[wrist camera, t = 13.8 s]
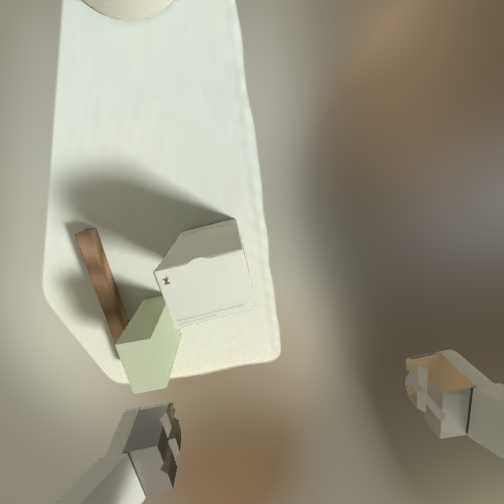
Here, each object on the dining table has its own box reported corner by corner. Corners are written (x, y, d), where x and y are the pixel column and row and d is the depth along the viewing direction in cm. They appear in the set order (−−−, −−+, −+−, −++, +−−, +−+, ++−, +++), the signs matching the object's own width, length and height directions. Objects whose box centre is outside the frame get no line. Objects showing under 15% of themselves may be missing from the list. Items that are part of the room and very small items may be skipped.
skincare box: (192, 271, 41) (170, 334, 26) (178, 228, 39) (147, 270, 24) (248, 258, 41) (258, 313, 26) (237, 214, 39) (242, 248, 24)
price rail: (83, 230, 38) (73, 234, 36) (96, 228, 38) (87, 232, 36) (130, 362, 45) (125, 373, 43) (141, 360, 45) (136, 371, 43)
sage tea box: (143, 299, 42) (114, 345, 32) (170, 294, 42) (150, 338, 32) (155, 338, 44) (132, 393, 34) (181, 333, 44) (166, 387, 34)
